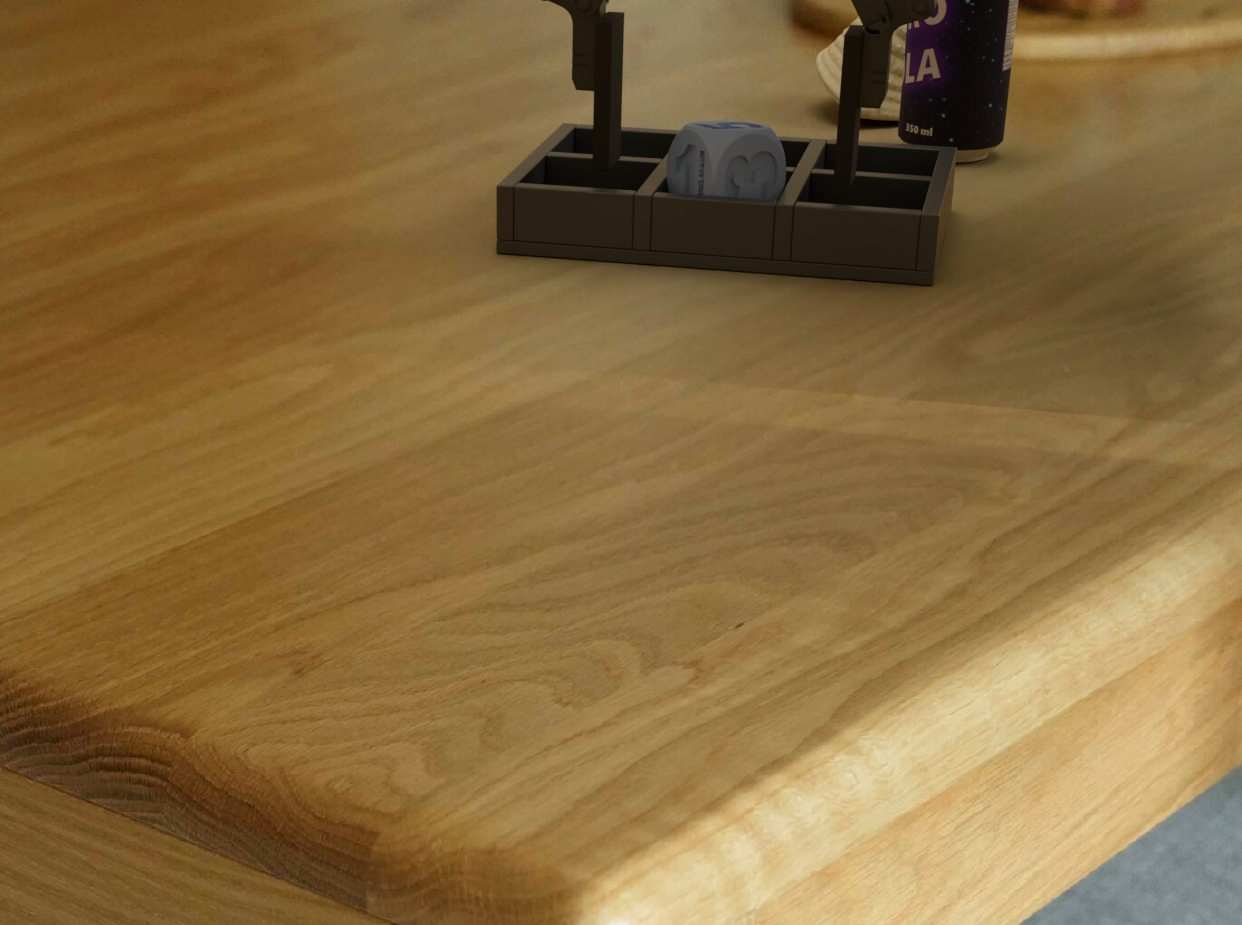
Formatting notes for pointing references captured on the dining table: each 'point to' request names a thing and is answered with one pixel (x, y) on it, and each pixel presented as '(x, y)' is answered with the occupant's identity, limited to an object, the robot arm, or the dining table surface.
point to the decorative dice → (727, 160)
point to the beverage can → (958, 77)
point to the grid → (732, 210)
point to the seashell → (890, 108)
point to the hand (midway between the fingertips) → (724, 172)
